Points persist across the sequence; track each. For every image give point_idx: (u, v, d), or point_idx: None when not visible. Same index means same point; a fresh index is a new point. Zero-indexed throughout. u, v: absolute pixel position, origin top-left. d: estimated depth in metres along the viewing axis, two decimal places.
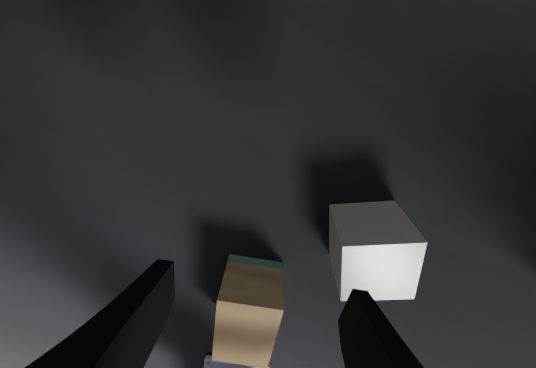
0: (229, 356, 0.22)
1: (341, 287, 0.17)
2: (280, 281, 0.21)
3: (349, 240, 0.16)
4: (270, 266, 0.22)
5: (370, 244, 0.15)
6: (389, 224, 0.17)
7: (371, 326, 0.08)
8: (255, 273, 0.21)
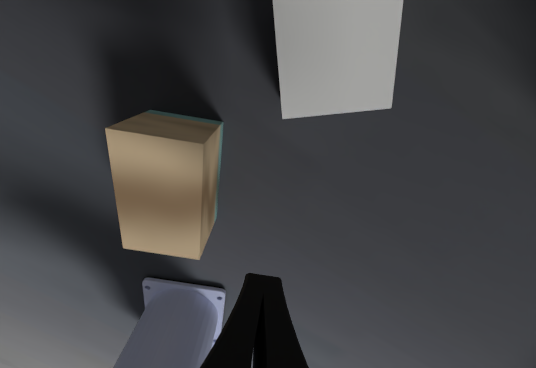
0: (144, 239, 0.16)
1: (281, 89, 0.11)
2: (211, 129, 0.15)
3: None
4: (203, 121, 0.16)
5: None
6: None
7: (264, 310, 0.08)
8: (178, 122, 0.15)
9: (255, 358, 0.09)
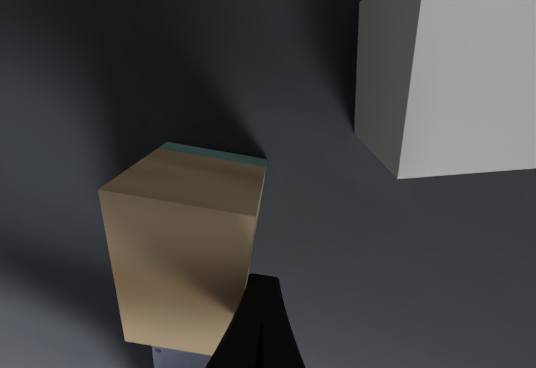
0: (155, 332, 0.11)
1: (404, 133, 0.07)
2: (256, 179, 0.10)
3: None
4: (241, 161, 0.11)
5: None
6: None
7: (261, 310, 0.08)
8: (207, 165, 0.11)
9: None
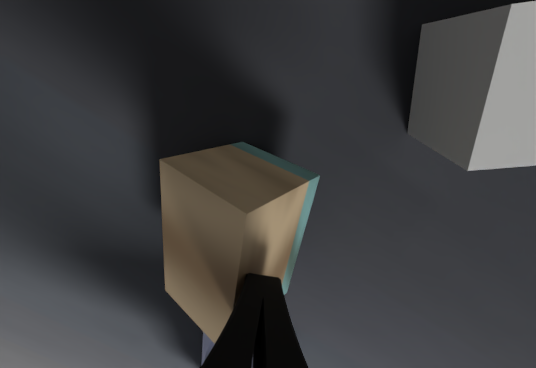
0: (180, 293, 0.13)
1: (477, 134, 0.08)
2: (286, 187, 0.10)
3: None
4: (288, 170, 0.12)
5: None
6: None
7: (263, 310, 0.08)
8: (253, 165, 0.11)
9: (255, 358, 0.09)
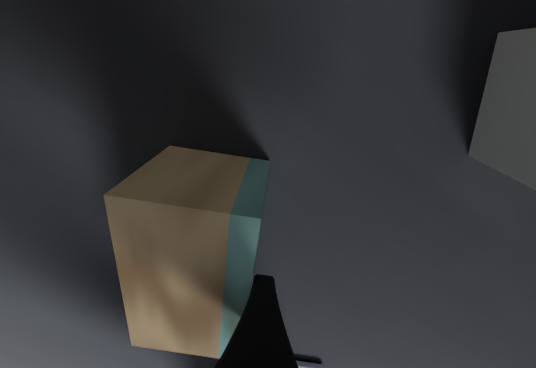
0: None
1: None
2: (189, 203, 0.08)
3: None
4: (239, 196, 0.09)
5: None
6: None
7: (255, 309, 0.08)
8: (218, 176, 0.10)
9: None
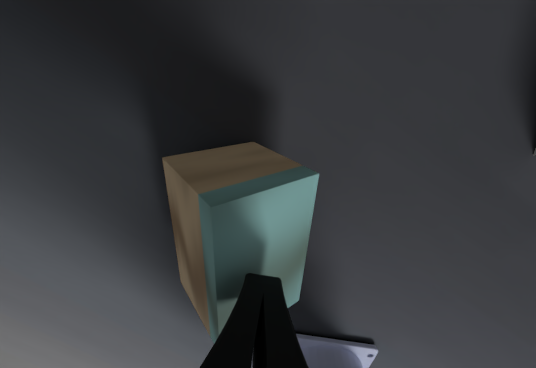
0: None
1: None
2: (189, 177, 0.10)
3: None
4: (229, 187, 0.09)
5: None
6: None
7: (264, 310, 0.08)
8: (243, 169, 0.11)
9: (255, 358, 0.09)
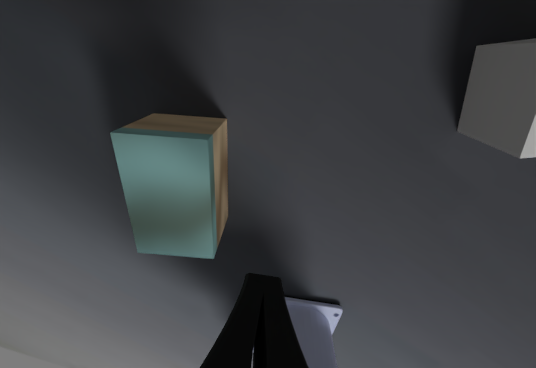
0: None
1: (529, 131, 0.12)
2: (138, 122, 0.15)
3: None
4: (141, 129, 0.13)
5: None
6: None
7: (264, 310, 0.08)
8: (172, 126, 0.14)
9: (255, 358, 0.09)
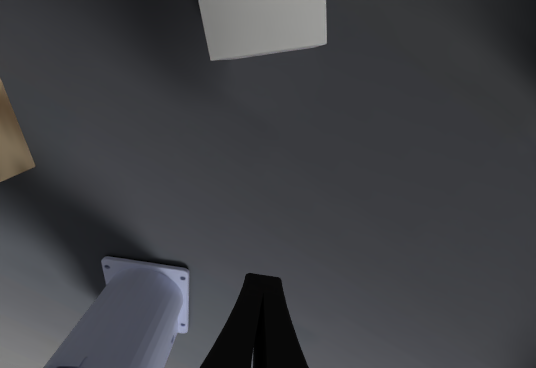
0: None
1: (204, 25, 0.10)
2: None
3: None
4: None
5: None
6: None
7: (264, 310, 0.08)
8: None
9: (255, 358, 0.09)
